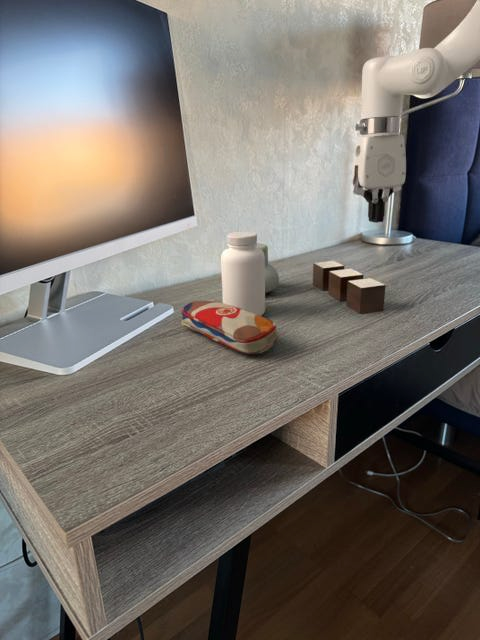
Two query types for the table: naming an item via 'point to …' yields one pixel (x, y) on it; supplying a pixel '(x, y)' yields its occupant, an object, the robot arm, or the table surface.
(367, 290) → the block
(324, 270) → the block
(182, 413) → the table surface
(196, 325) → the pencil case
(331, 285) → the block middle
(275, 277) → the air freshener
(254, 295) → the pill bottle
